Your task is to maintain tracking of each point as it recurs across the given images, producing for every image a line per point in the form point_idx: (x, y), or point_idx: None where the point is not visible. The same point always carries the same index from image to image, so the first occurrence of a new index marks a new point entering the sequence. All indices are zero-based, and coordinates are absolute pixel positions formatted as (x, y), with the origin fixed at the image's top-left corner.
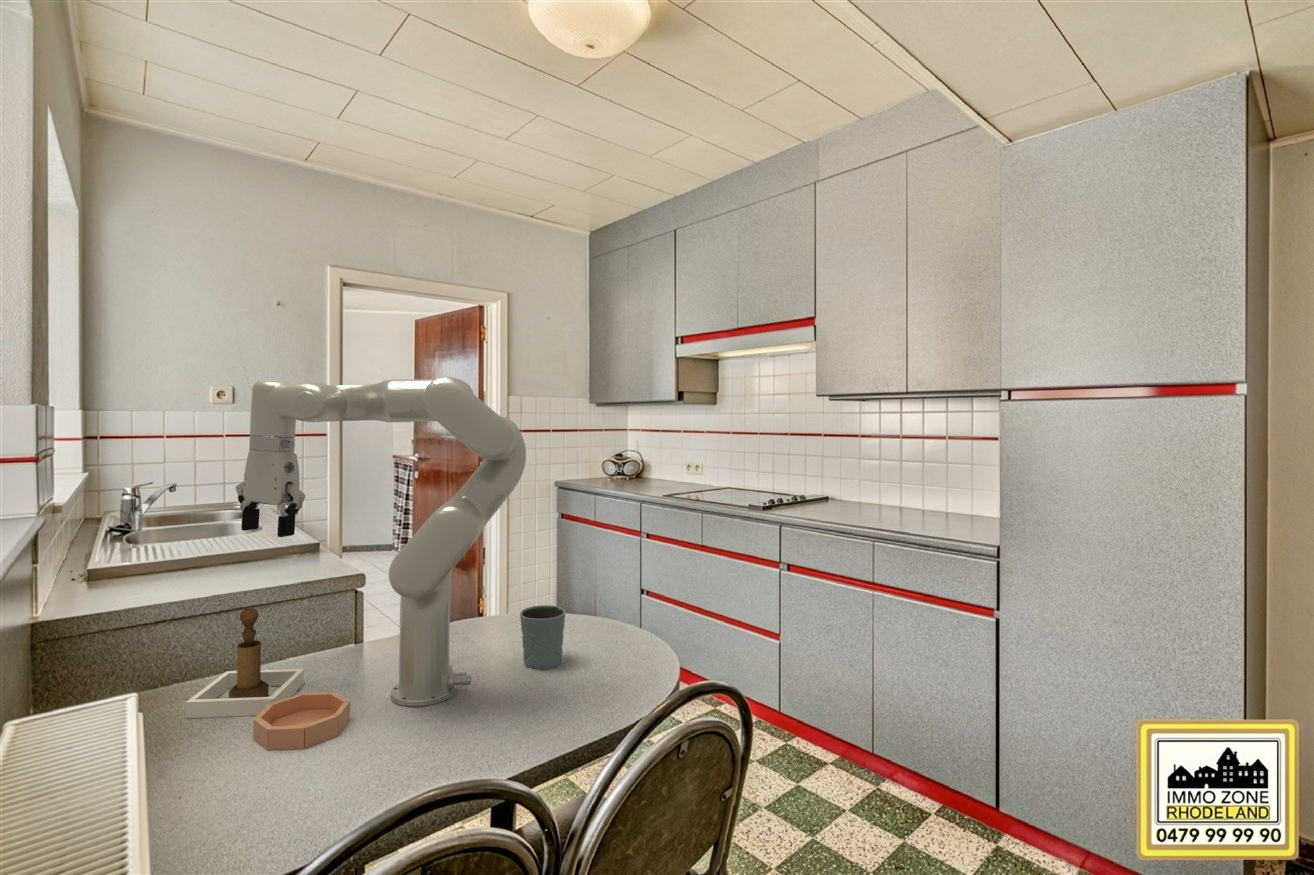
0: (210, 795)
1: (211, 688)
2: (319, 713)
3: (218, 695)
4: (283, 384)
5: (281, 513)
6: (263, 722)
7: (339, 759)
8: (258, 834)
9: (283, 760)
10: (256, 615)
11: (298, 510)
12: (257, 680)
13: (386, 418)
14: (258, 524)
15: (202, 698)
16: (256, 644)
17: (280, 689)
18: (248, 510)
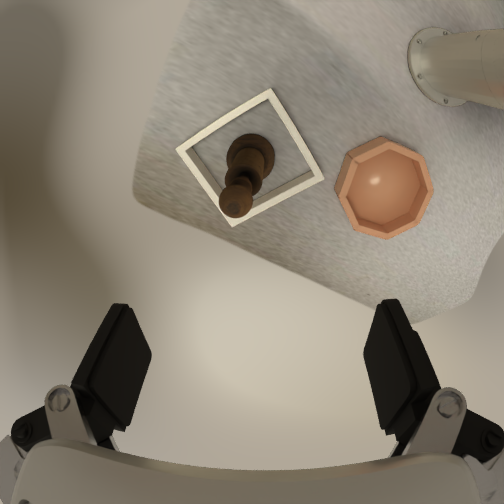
0: (387, 285)
1: (212, 187)
2: (380, 160)
3: (206, 168)
4: None
5: (401, 443)
6: (371, 231)
7: (447, 216)
8: (442, 295)
9: (405, 235)
10: (251, 196)
11: (478, 416)
12: (263, 160)
13: None
14: (123, 320)
15: None
16: (245, 167)
17: (306, 154)
18: (115, 420)
